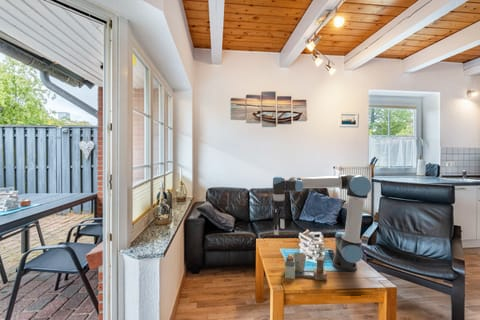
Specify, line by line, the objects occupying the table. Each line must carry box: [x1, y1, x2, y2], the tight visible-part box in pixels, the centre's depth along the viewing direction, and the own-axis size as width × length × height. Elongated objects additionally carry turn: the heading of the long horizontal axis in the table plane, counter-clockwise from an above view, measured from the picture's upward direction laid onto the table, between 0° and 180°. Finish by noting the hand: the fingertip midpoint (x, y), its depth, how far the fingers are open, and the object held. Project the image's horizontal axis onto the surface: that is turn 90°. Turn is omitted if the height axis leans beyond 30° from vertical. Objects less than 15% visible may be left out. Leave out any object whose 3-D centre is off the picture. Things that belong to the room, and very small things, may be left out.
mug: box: [292, 251, 307, 272], centre depth 153 cm, size 8×13×10 cm, turn 80°
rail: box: [295, 270, 316, 280], centre depth 144 cm, size 19×4×2 cm, turn 78°
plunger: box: [287, 253, 293, 261], centre depth 147 cm, size 3×3×3 cm
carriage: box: [313, 256, 328, 281], centre depth 143 cm, size 7×6×12 cm
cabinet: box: [284, 256, 296, 280], centre depth 147 cm, size 6×9×10 cm, turn 168°
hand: (279, 231), depth 153 cm, fingers open, 13 cm apart
